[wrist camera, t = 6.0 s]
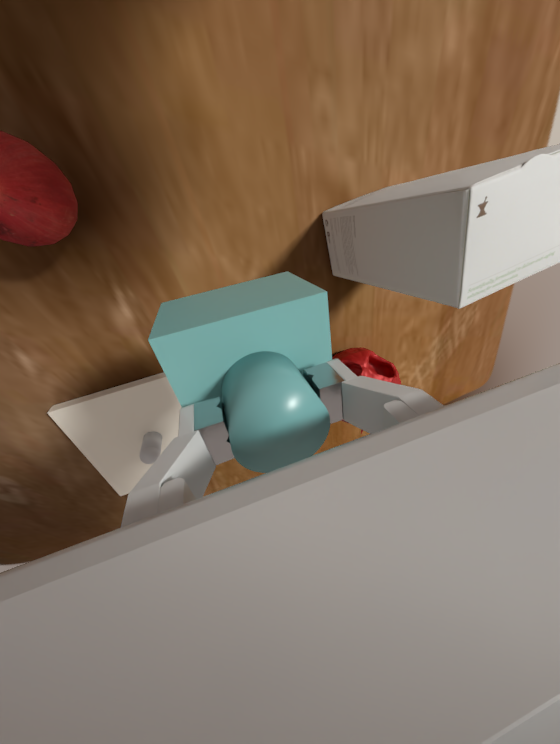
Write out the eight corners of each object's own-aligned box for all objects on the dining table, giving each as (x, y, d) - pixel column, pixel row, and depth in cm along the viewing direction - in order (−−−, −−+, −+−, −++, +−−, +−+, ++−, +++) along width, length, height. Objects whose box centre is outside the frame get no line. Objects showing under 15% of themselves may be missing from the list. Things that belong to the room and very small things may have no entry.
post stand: (191, 364, 28) (191, 386, 24) (227, 450, 35) (232, 477, 32) (52, 405, 26) (28, 437, 22) (122, 488, 33) (113, 523, 29)
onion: (69, 259, 21) (14, 274, 14) (-25, 200, 18) (-151, 185, 11) (107, 197, 20) (65, 182, 13) (13, 123, 17) (-101, 55, 10)
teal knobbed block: (287, 271, 14) (374, 315, 7) (302, 373, 17) (370, 464, 11) (161, 302, 13) (130, 387, 6) (205, 404, 16) (215, 525, 10)
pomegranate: (371, 393, 39) (417, 435, 31) (310, 411, 37) (343, 460, 29) (378, 332, 34) (434, 363, 26) (307, 349, 32) (345, 388, 24)
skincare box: (330, 275, 28) (452, 317, 15) (318, 206, 25) (464, 183, 12) (397, 249, 29) (566, 267, 16) (395, 179, 25) (610, 128, 12)
